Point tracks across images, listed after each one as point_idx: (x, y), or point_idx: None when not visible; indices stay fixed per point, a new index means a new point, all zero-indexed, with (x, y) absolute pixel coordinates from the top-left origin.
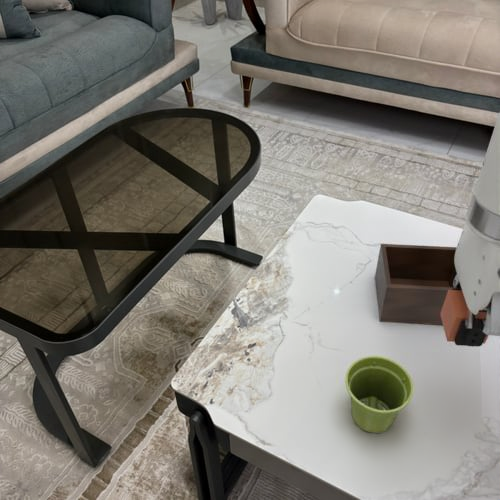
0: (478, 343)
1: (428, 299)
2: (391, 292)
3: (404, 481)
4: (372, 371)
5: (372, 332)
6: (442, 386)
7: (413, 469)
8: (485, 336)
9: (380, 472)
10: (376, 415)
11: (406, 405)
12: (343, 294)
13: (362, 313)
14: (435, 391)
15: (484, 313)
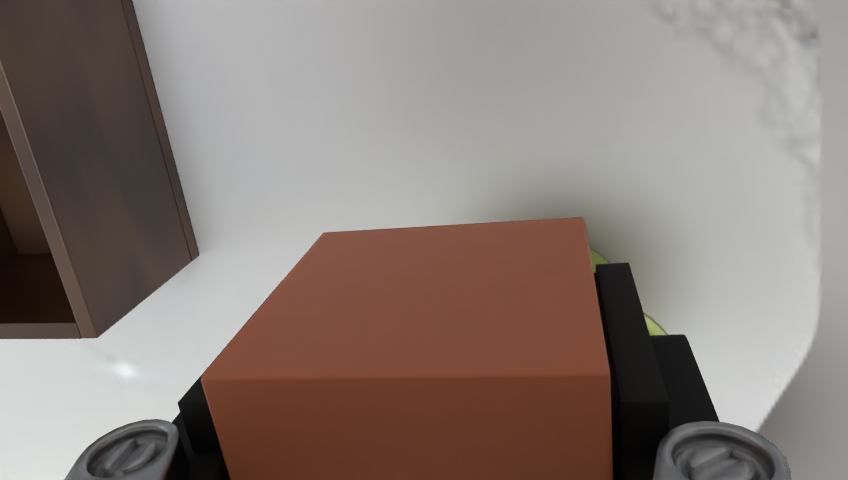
0: (686, 343)
1: (81, 156)
2: (108, 304)
3: (774, 216)
4: None
5: (249, 277)
6: (408, 71)
7: (732, 188)
8: (641, 312)
9: (746, 279)
10: None
11: (650, 317)
12: (130, 352)
13: (184, 303)
14: (434, 97)
15: (533, 460)
